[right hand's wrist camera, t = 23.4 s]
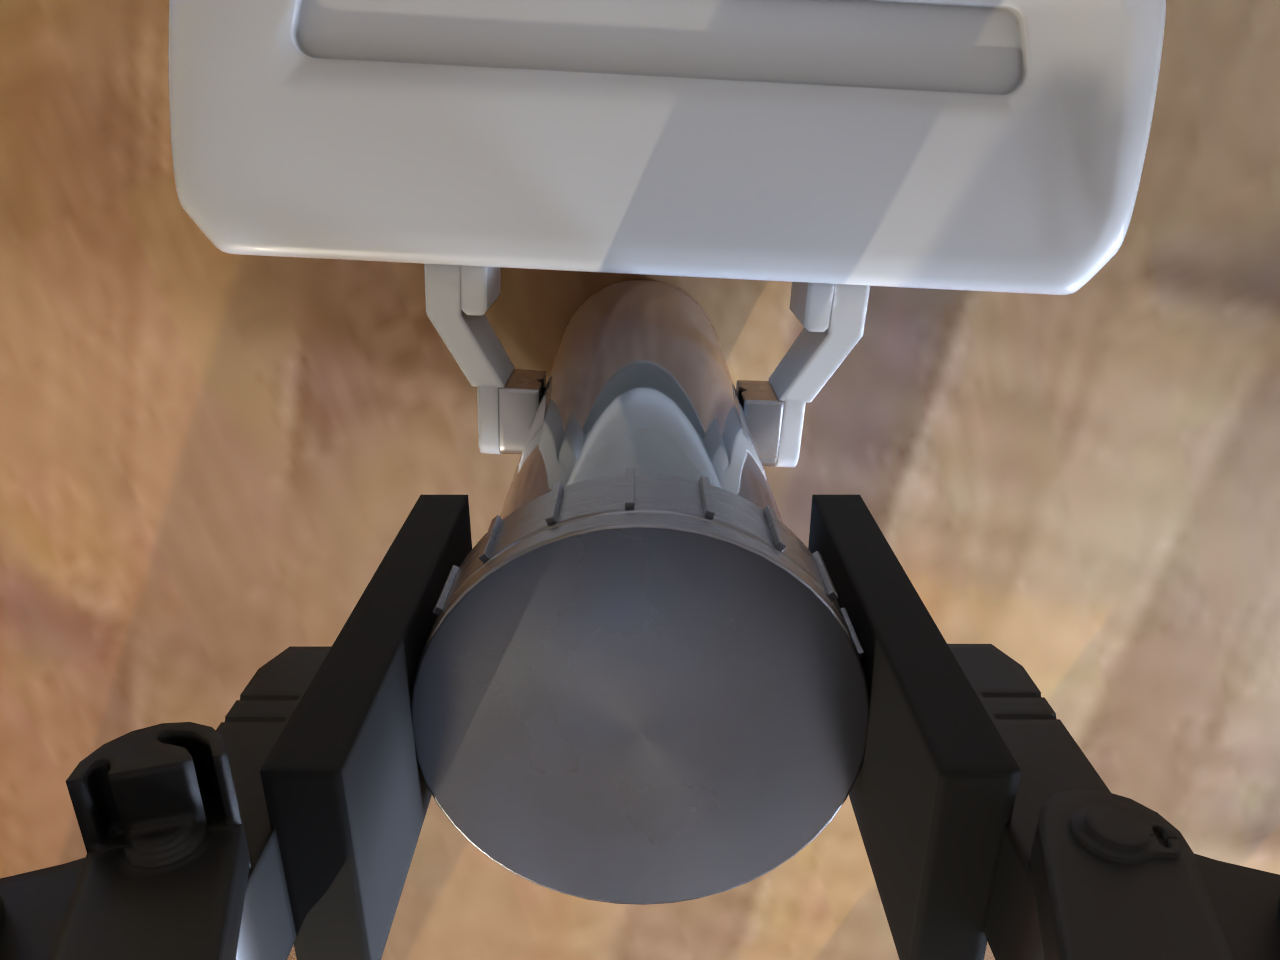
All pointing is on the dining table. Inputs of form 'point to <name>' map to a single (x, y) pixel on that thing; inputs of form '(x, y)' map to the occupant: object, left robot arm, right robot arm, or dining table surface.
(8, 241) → the dining table surface
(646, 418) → the grey cylinder
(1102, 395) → the dining table surface
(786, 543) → the lid
